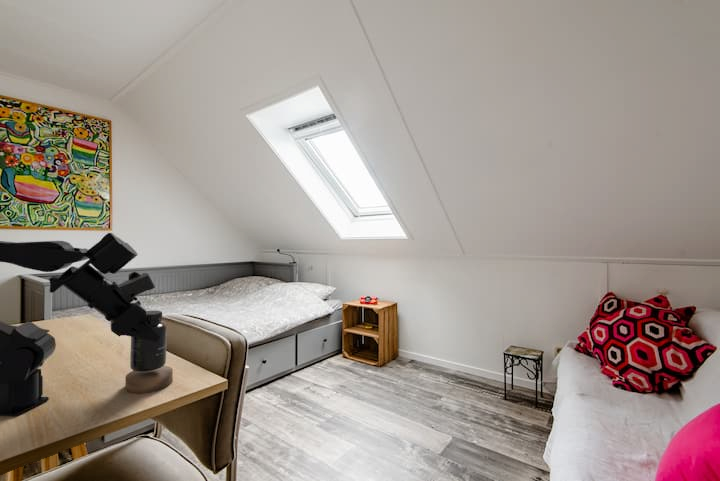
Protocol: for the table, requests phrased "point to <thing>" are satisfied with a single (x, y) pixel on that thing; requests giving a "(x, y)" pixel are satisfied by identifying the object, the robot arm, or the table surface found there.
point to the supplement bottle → (149, 346)
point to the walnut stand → (148, 380)
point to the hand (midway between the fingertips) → (156, 335)
